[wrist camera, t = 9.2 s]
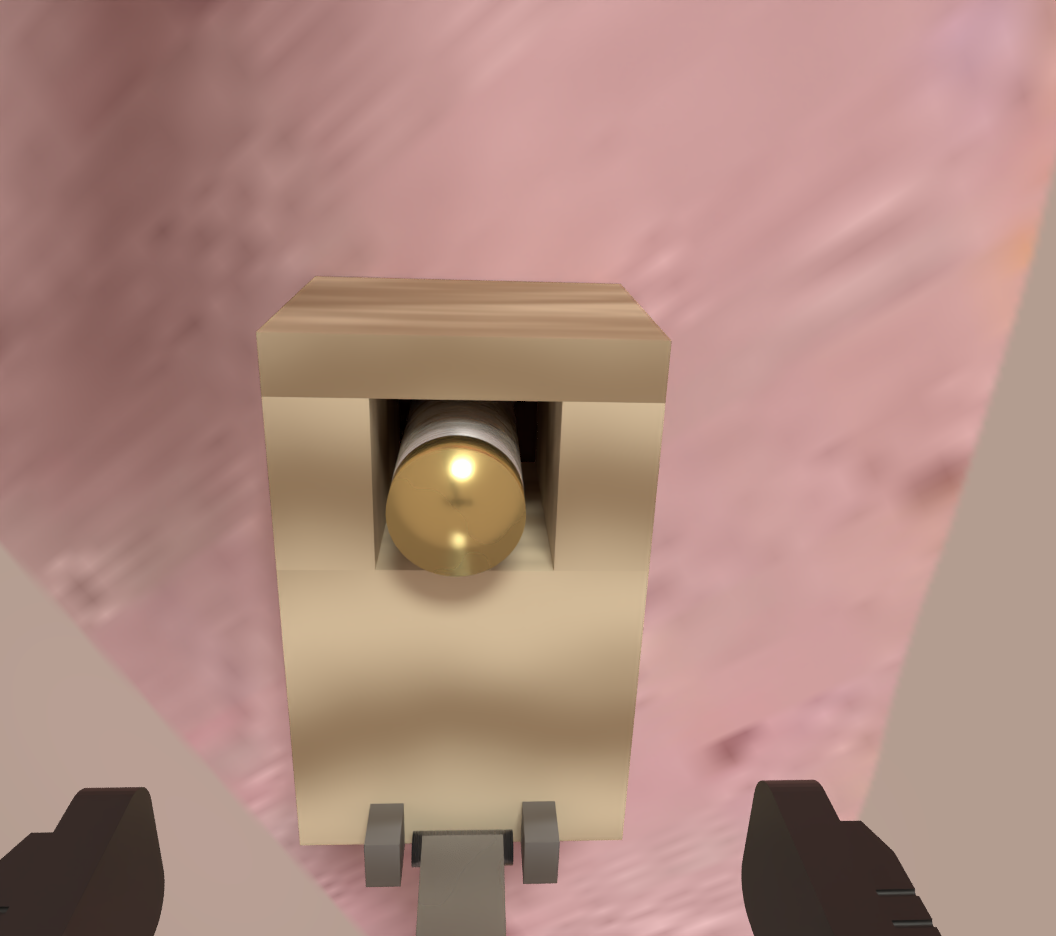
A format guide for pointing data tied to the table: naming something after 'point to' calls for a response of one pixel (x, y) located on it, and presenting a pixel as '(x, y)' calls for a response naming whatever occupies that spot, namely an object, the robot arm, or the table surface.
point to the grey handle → (462, 881)
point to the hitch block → (467, 601)
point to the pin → (457, 486)
